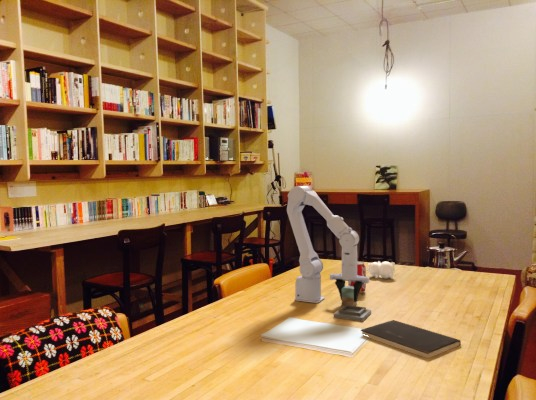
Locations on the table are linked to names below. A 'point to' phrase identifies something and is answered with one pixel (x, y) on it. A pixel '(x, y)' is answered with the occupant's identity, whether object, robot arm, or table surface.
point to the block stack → (348, 296)
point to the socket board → (352, 313)
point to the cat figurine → (381, 269)
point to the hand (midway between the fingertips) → (349, 300)
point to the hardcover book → (411, 338)
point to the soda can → (361, 272)
